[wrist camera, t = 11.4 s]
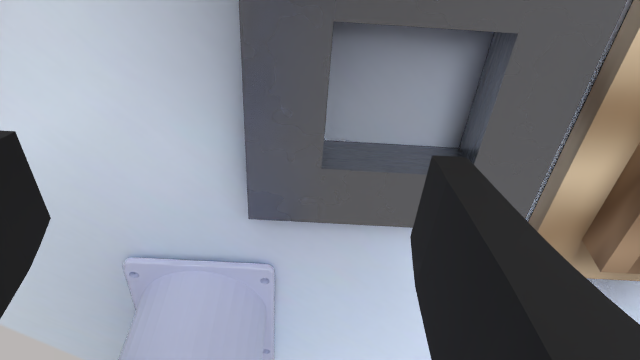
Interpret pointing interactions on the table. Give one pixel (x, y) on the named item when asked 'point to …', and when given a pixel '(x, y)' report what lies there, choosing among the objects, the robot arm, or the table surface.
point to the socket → (406, 160)
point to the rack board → (601, 171)
